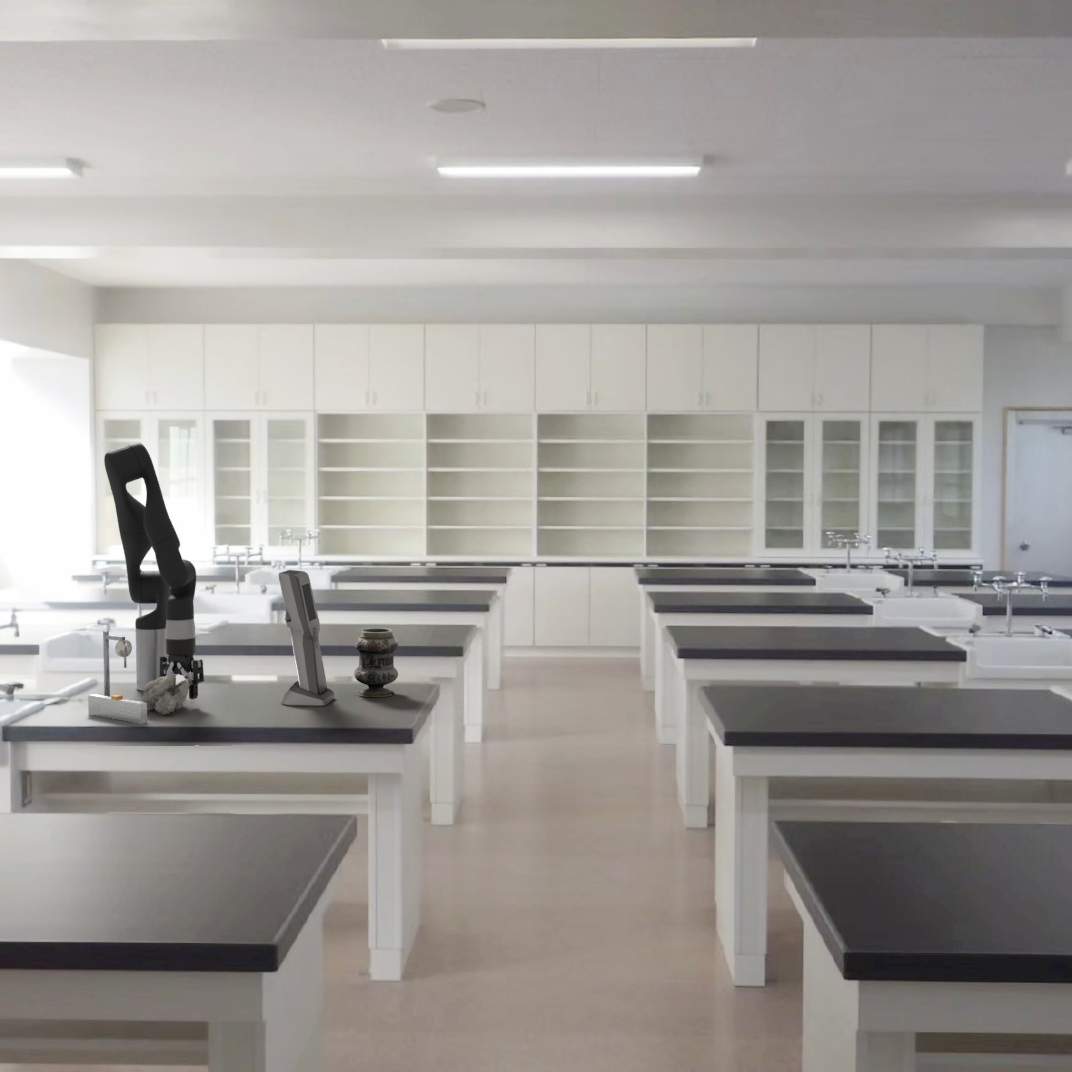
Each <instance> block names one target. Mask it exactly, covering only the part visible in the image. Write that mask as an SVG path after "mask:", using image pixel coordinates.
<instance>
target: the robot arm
mask: <svg viewBox="0 0 1072 1072" xmlns="http://www.w3.org/2000/svg"><path fill="white" fill-rule="evenodd" d="M103 460H104V467H105V468H104V469H105V473H106V475H107V480H108V483H109V486H110V490H111V495H112V497H113V502H114V505H115V512H116V518H117V525H118V531H119V536H120V540H121V544H122V549H123V553H124V554H123V555H124V558H125V564H126V565H125V566H126V574H127V583H128V592H129V597H130V599H131V601H132V602H133V603H135V604H139V605H140V604H143V605H144V604H147V605H148V604H152V605H153V604H156V608H155V609H154V610H153V611H151V612H149V613H147V614H144V615H140V616H138V617H136V619H135V622H134V623H135V624H134V625H135V626H134V628H135V665H136V667H135V669H136V670H135V671H136V675H135V677H136V678H135V679H136V690H138V691H143V688H144V686H145V685H146V684H147V683H148V682H150V681H154V680H156V679H158V678H160V677H166V676H169V675H175V677H176V678H177V676H178V675H180V676H183V678H184V679H185V680H186V681H187V682H188V683H189V685H190V686H189V689H188V697H189V698H188V699H189V700H195V699H196V700H197V698H198V696H199V684H201V683H204V682H205V675H204V661H203V659H195V658H194V655H195V653H196V652H197V651H196V650H197V647H196V625H195V609H194V598H195V594H196V587H197V571H196V568H195V565H194V564H193V563H192V562H191V561H189V560H188V559H183V557H182V555H181V552H180V547H181V542H180V538H179V537H178V536H179V535H178V533H177V531H176V529H175V527H174V525H173V523H172V520H171V518H170V515H169V513H168V510H167V505H166V503H165V500H164V497H163V492H162V490H161V486H160V482H159V479H158V476H157V473H156V470H155V466H154V463H153V460H152V456H150V454H149V451H148V449H147V448H146V447H145V445H144V444H143V443H141V442H138V441H137V442H132V443H130V444H127V445H124V446H120V447H118V448H113V450H112V449H111V450H109V451H108V452H106V453H105V454H104V459H103ZM139 479H143V482H144V484H145V492H146V500H145V505H144V504H143V503H142V502H140V501H139V500H137V499H136V498H135V497H134V496H133V495H131V493H129V491H128V490H127V484H128V483H132V482H134V481H137V480H139ZM151 548H152V550H153V552H154V555H155V560H156V564H157V565H156V566H157V567H158V570H142V569H141V565H142V562H143V560H144V559H145V557H146V556H147V554H148V553H149V551H150V550H151Z"/></svg>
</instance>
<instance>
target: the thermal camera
mask: <svg viewBox="0 0 1072 1072" xmlns="http://www.w3.org/2000/svg"><path fill="white" fill-rule="evenodd" d="M278 580H279V584H280V589H281V590H280V591H281V595H282V600H283V604H284V608H285V617H284V621H285V626H286V627H287V628H290V636H291V643H292V649H293V650H292V651H293V655H294V662H295V665H296V670H297V676H298V677H297V678H298V680H297V681H295V682H294V683H293V684H291V685H292V686H290V687H289V689H288V690H287V691H286V693H285V694H284V695H283V698H282V699H281V705H283V706H287V707H288V706H290V707H292V706H293V707H294V706H295V707H325V706H327V705H328V704H330V703H331V702H332V701H333V700H334V699H336V696H335V692H334V691H333V690H332V689H331V688H328V684H327V679H326V672H325V667H324V660H323V656H322V650H321V645H320V640H319V635H320V630H321V626H320V618H319V614H318V609H317V606H316V602H315V598H314V594H313V593H314V592H313V588H312V583H311V579H310V576H309V574H308V572H306V571H304V570H294V569H287V570H285V571H282V572H279V573H278Z"/></svg>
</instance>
